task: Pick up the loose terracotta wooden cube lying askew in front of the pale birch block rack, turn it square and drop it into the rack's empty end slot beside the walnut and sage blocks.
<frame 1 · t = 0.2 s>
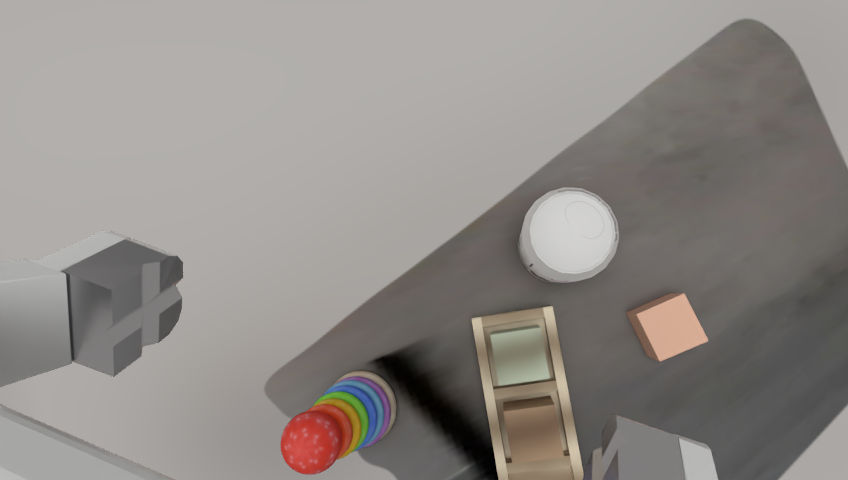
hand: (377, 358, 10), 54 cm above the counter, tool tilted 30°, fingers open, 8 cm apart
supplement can: (555, 246, 63), on the counter
stacking toy: (363, 405, 65), on the counter
block rack: (530, 420, 62), on the counter
terracotta cube: (658, 324, 61), on the counter
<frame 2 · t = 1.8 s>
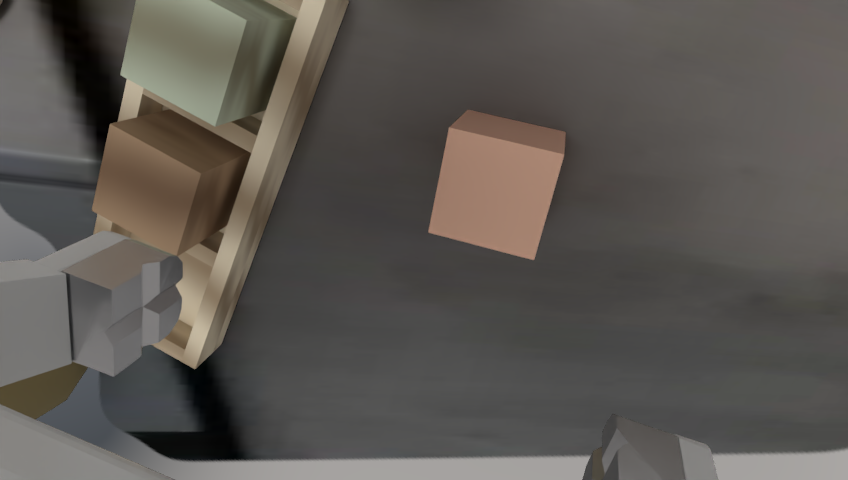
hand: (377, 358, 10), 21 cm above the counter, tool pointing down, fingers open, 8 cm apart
squeeze bottle: (66, 329, 42), on the counter
block rack: (212, 163, 34), on the counter
terracotta cube: (504, 167, 30), on the counter
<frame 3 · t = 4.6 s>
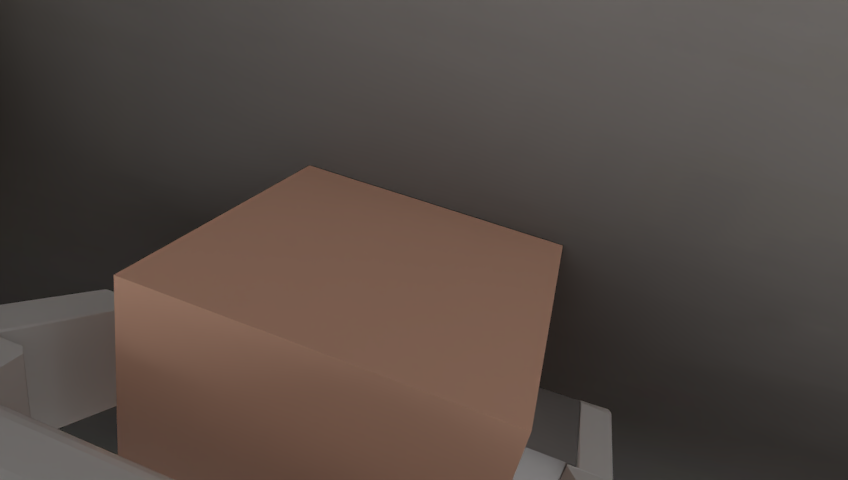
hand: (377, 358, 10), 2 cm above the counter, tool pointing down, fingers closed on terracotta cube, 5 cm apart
terracotta cube: (404, 314, 12), on the counter, touching gripper
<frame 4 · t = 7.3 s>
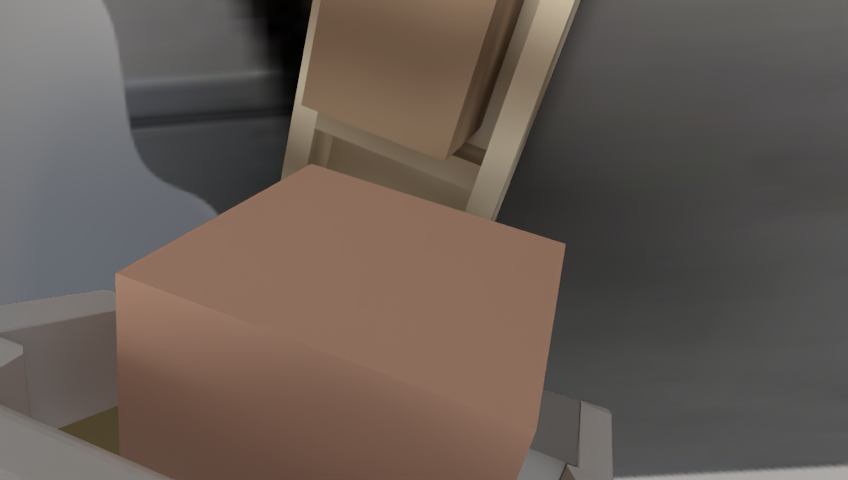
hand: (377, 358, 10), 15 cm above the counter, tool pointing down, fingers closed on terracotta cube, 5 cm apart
squeeze bottle: (235, 324, 32), on the counter
block rack: (446, 38, 22), on the counter
terracotta cube: (406, 313, 12), point 13 cm above the counter, touching gripper
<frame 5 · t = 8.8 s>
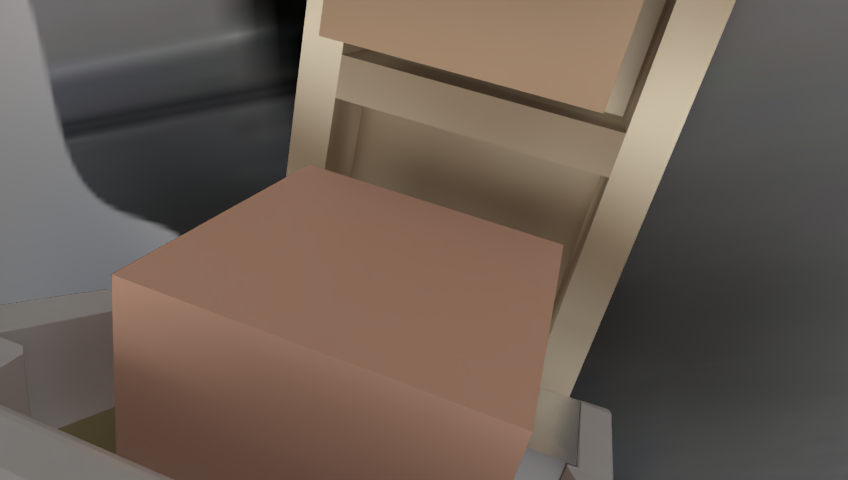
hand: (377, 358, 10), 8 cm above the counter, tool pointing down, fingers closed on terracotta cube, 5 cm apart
squeeze bottle: (231, 401, 23), on the counter
terracotta cube: (404, 314, 12), point 6 cm above the counter, touching gripper
when the fingers open (4 cm above the counter, at t = 9.9 s): terracotta cube drops 1 cm, resting on block rack.
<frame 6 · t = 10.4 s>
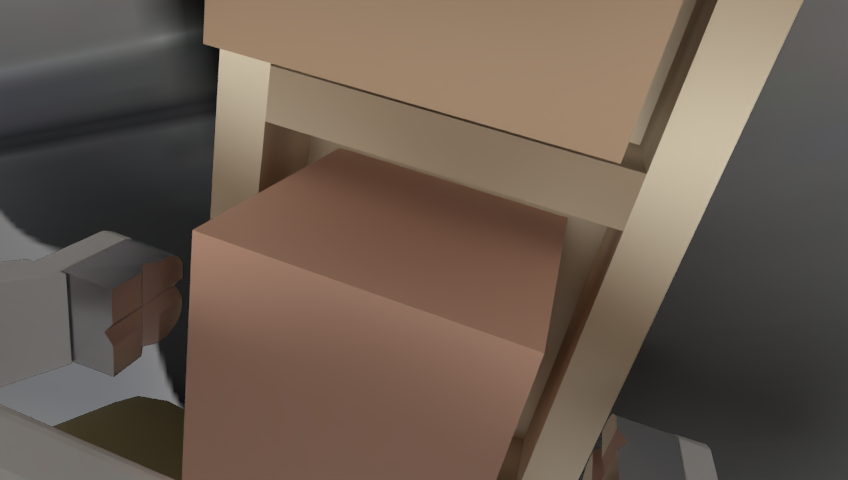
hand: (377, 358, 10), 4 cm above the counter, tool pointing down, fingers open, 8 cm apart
squeeze bottle: (179, 460, 20), on the counter
terracotta cube: (424, 283, 13), point 1 cm above the counter, touching block rack
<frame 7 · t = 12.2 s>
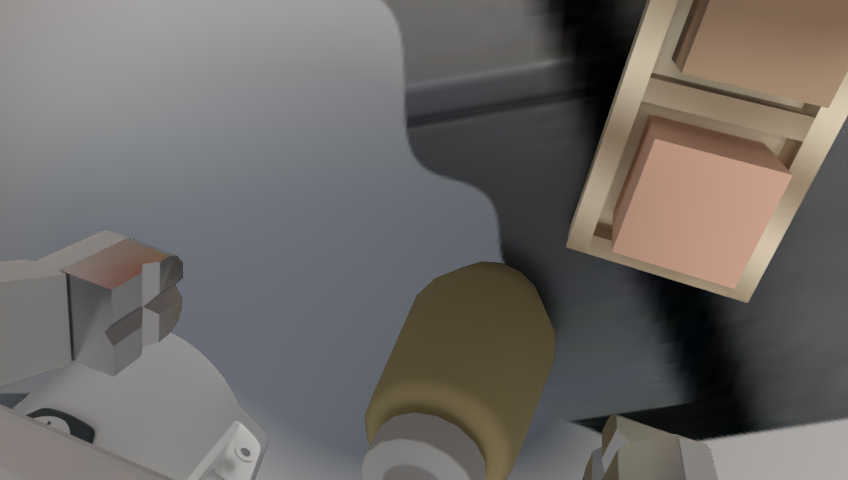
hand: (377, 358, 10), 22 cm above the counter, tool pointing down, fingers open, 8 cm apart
squeeze bottle: (493, 303, 34), on the counter
block rack: (751, 10, 25), on the counter
terracotta cube: (684, 179, 27), point 1 cm above the counter, touching block rack
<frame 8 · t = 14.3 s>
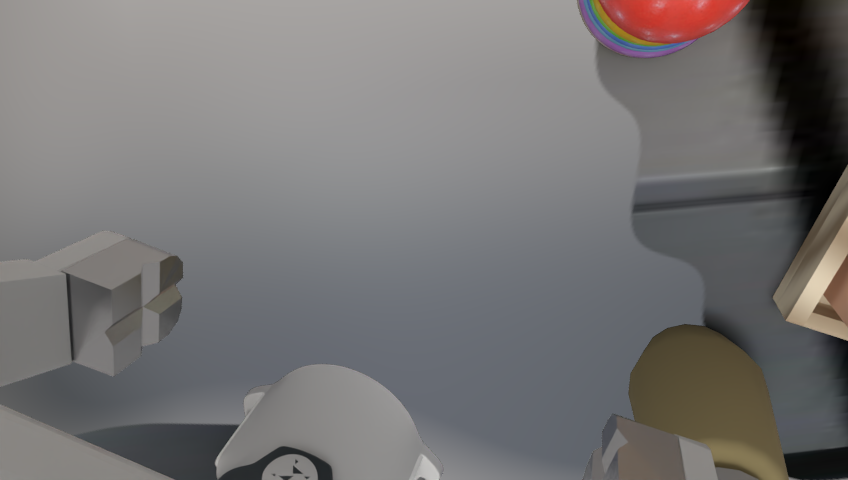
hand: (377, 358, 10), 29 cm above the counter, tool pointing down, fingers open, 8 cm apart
squeeze bottle: (687, 358, 40), on the counter
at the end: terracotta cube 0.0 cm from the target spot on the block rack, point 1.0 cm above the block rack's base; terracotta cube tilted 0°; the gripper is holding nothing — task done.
